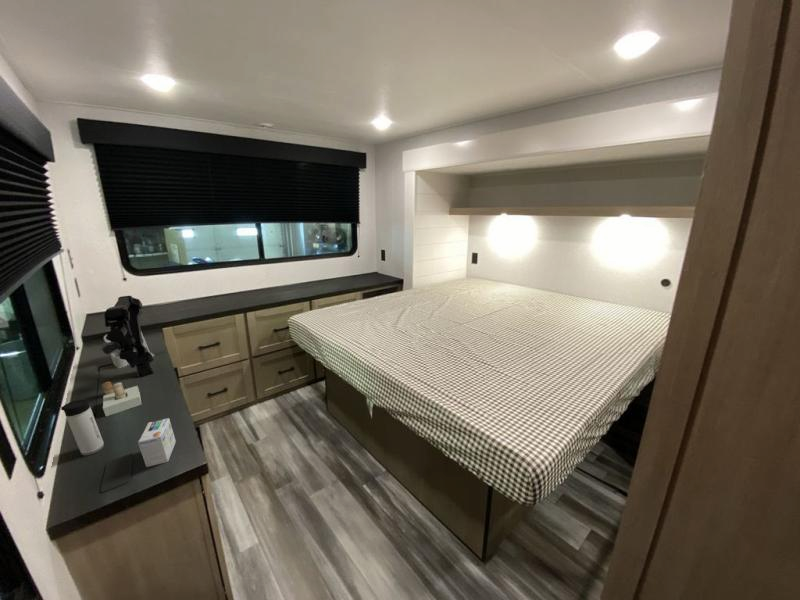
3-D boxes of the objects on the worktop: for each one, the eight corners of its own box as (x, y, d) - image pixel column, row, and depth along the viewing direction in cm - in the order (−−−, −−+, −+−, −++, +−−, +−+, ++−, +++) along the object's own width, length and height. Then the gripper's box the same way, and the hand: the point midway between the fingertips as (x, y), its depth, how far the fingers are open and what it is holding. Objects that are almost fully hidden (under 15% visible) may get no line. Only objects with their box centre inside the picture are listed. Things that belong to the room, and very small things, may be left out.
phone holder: (117, 369, 175) (107, 338, 169) (111, 364, 180) (101, 334, 175) (155, 356, 188) (146, 327, 182) (148, 352, 194) (140, 324, 188)
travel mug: (77, 452, 116) (57, 405, 110) (99, 441, 122) (82, 395, 116) (84, 458, 114) (65, 410, 107) (107, 446, 119) (90, 400, 113)
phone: (99, 493, 100) (106, 462, 111) (100, 495, 100) (107, 463, 112) (129, 481, 103) (133, 452, 115) (130, 483, 104) (134, 454, 116)
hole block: (106, 403, 145) (103, 395, 143) (139, 393, 152) (137, 385, 151) (105, 416, 136) (102, 408, 135) (141, 404, 143) (139, 396, 142)
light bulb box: (155, 446, 119) (147, 421, 115) (176, 441, 121) (169, 417, 118) (145, 468, 109) (136, 442, 106) (168, 462, 111) (160, 436, 108)
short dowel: (106, 394, 152) (102, 383, 150) (115, 391, 154) (111, 380, 152) (105, 397, 149) (101, 386, 147) (114, 394, 151) (110, 383, 149)
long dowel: (119, 403, 144) (112, 384, 141) (128, 400, 146) (121, 381, 143) (119, 407, 142) (112, 387, 139) (128, 404, 144) (121, 384, 141)
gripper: (100, 332, 150) (110, 362, 155) (99, 345, 137) (110, 378, 142) (130, 326, 157) (139, 354, 162) (132, 338, 144) (142, 369, 149)
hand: (132, 363), depth 154 cm, fingers open, 9 cm apart
